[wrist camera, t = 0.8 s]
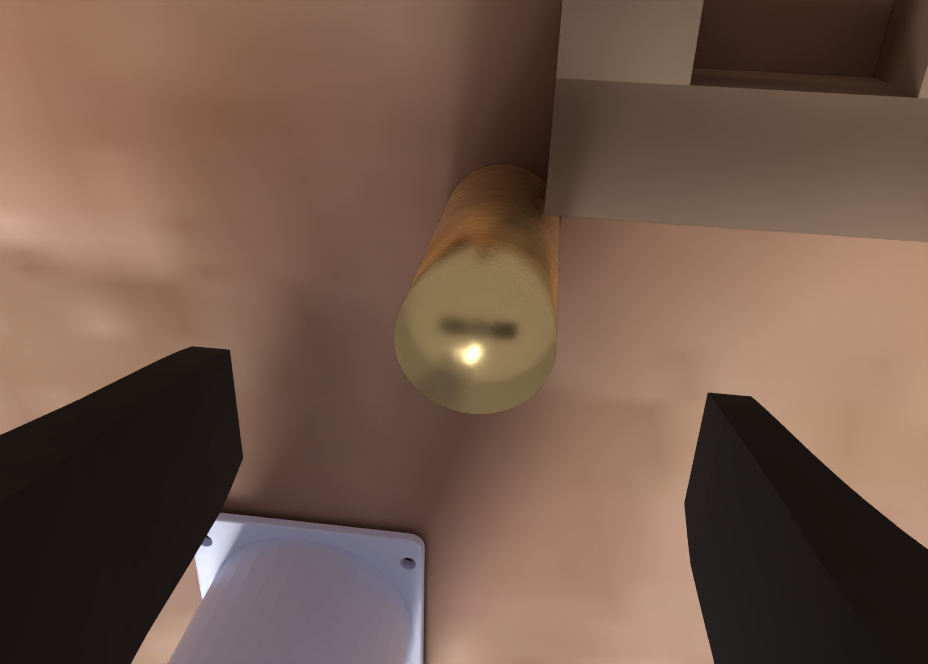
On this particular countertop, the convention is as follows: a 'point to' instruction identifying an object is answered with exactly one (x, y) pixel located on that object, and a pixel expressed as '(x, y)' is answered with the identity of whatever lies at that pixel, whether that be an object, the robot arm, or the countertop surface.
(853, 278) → the countertop surface
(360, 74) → the countertop surface
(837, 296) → the countertop surface
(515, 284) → the pin
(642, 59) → the slot block
